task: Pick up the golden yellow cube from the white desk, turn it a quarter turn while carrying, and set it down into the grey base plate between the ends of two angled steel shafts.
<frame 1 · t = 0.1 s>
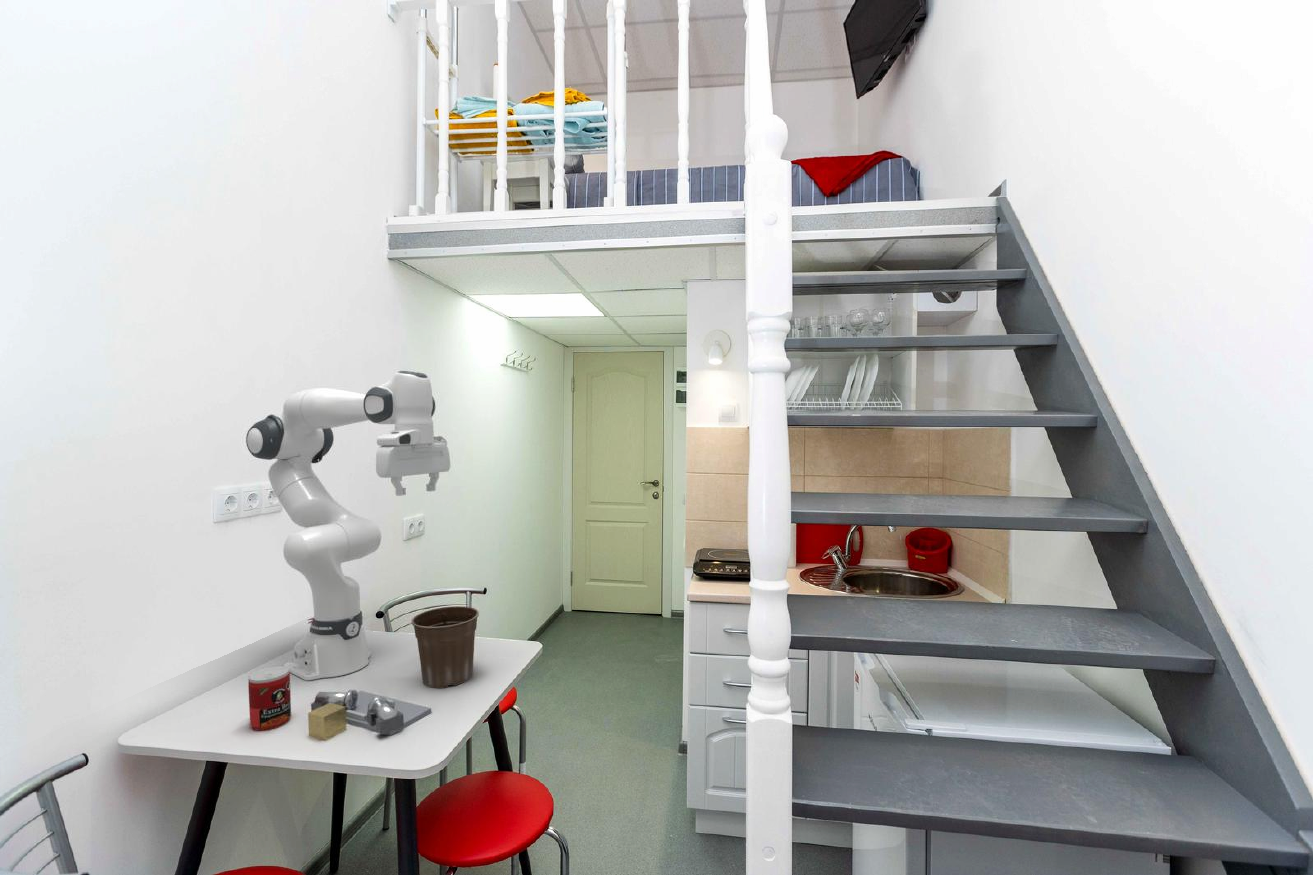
hand: (416, 493, 150), 48 cm above the table, fingers open, 8 cm apart
shaft a: (336, 714, 136), resting on grey base plate
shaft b: (384, 728, 130), resting on grey base plate
golden yellow cube: (327, 733, 128), on the table
canned food: (270, 723, 134), on the table
plant pot: (447, 679, 155), on the table
grey base plate: (370, 715, 136), on the table
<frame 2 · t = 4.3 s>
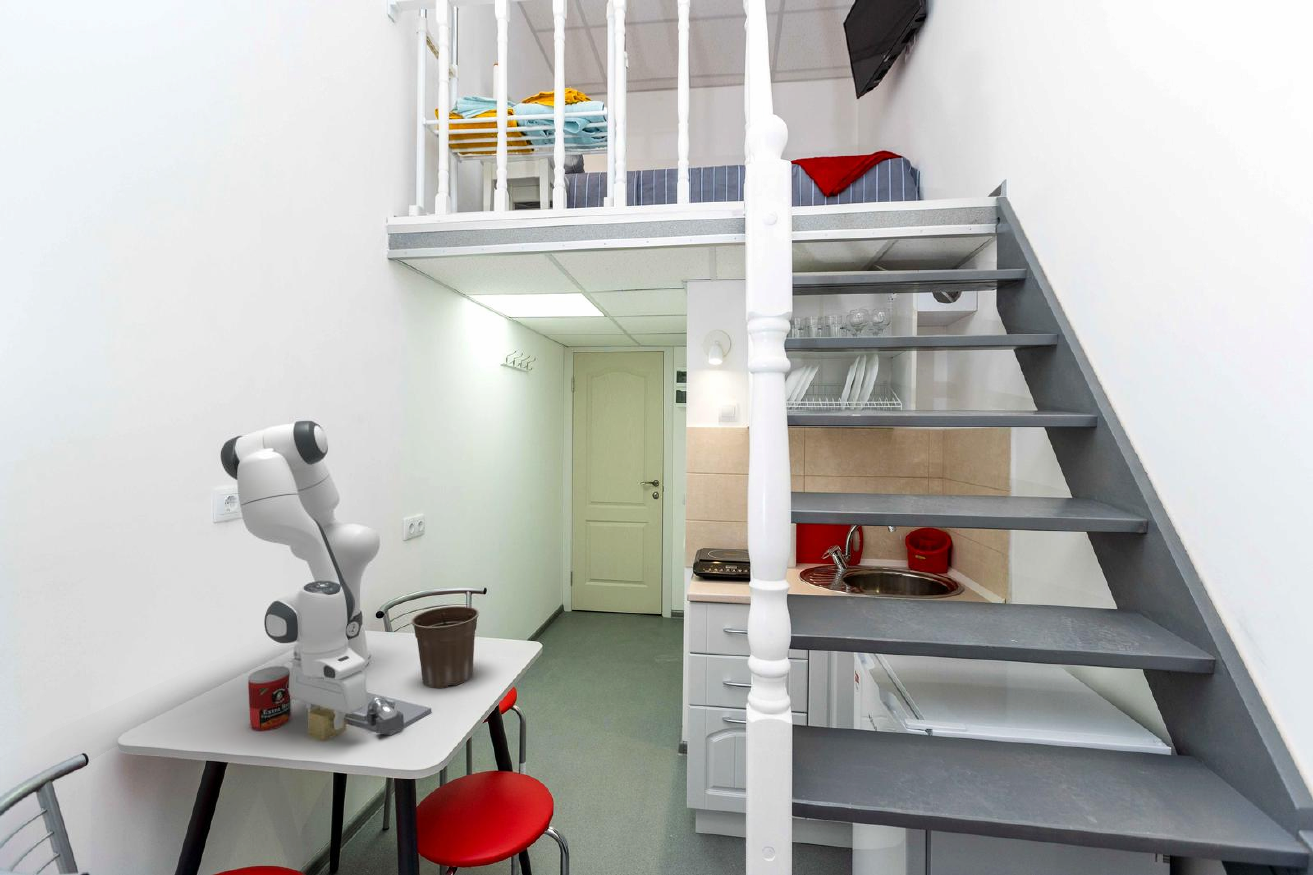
hand: (327, 725, 128), 2 cm above the table, fingers closed on golden yellow cube, 5 cm apart
golden yellow cube: (327, 732, 128), on the table, touching gripper
everything else where it was.
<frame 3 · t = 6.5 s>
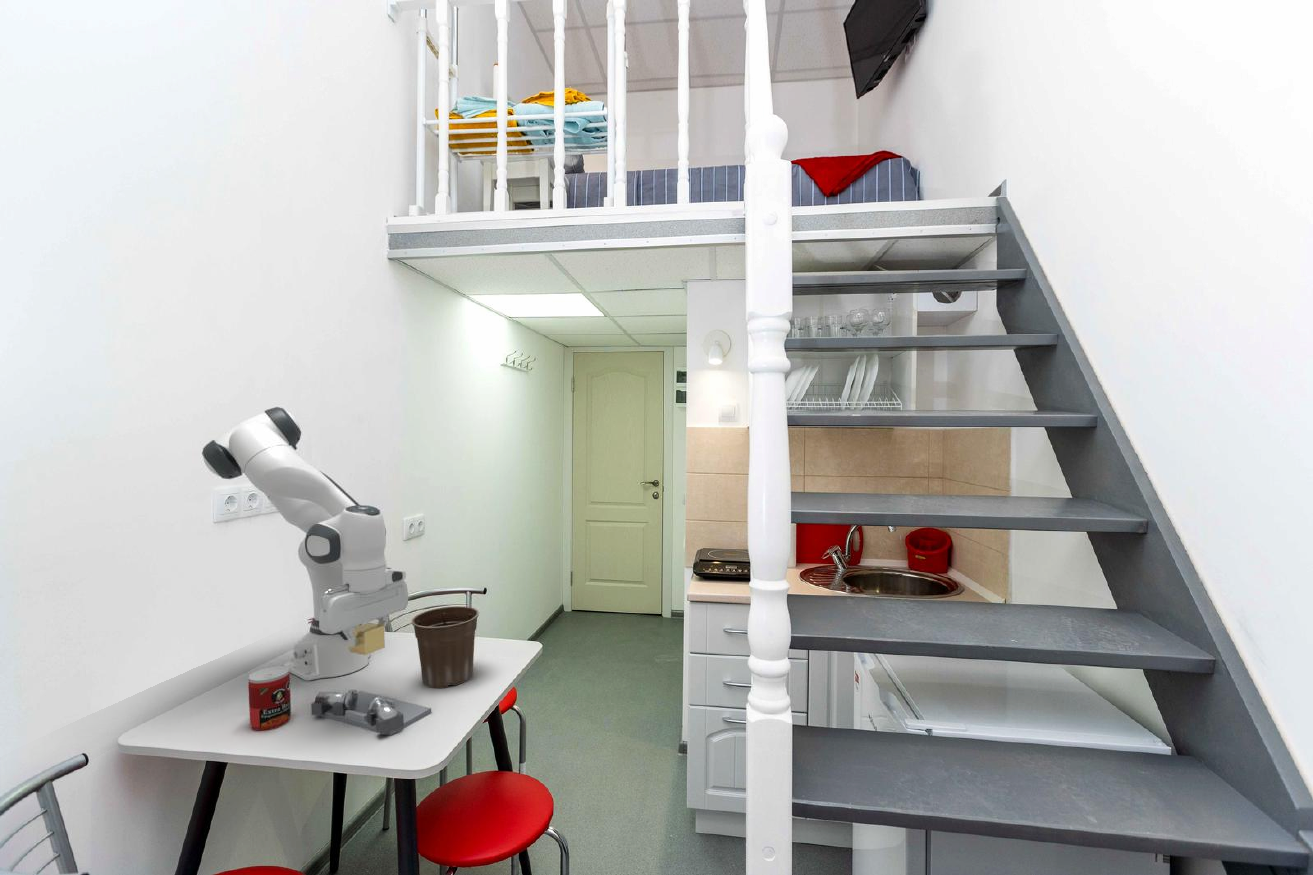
hand: (366, 641, 135), 17 cm above the table, fingers closed on golden yellow cube, 5 cm apart
golden yellow cube: (367, 649, 135), point 15 cm above the table, touching gripper
everything else where it was.
when the fingers open (4 cm above the table, at t = 8.7 s): golden yellow cube drops 1 cm, resting on grey base plate.
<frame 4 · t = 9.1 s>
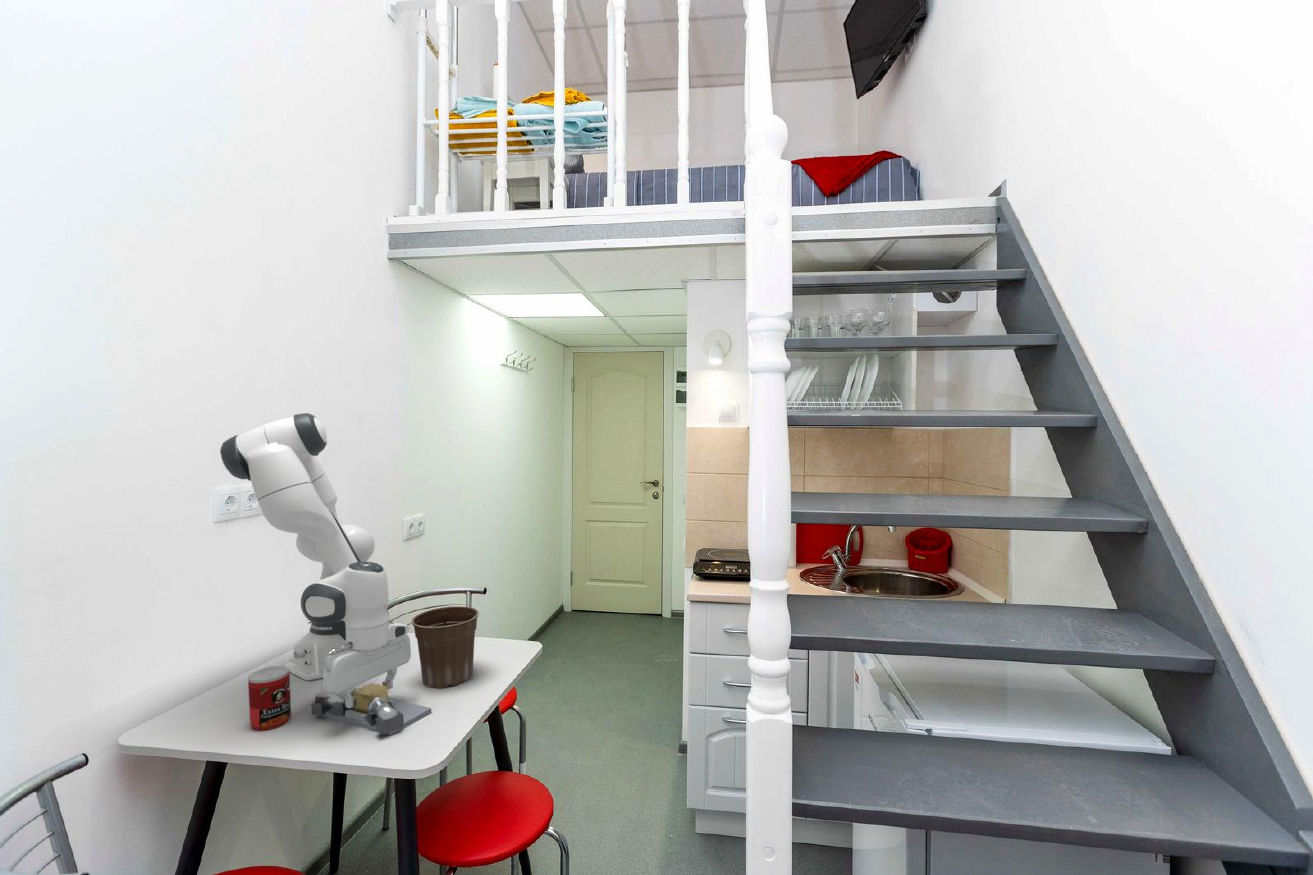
hand: (370, 697, 136), 4 cm above the table, fingers open, 8 cm apart
golden yellow cube: (370, 711, 136), point 1 cm above the table, touching grey base plate
everything else where it was.
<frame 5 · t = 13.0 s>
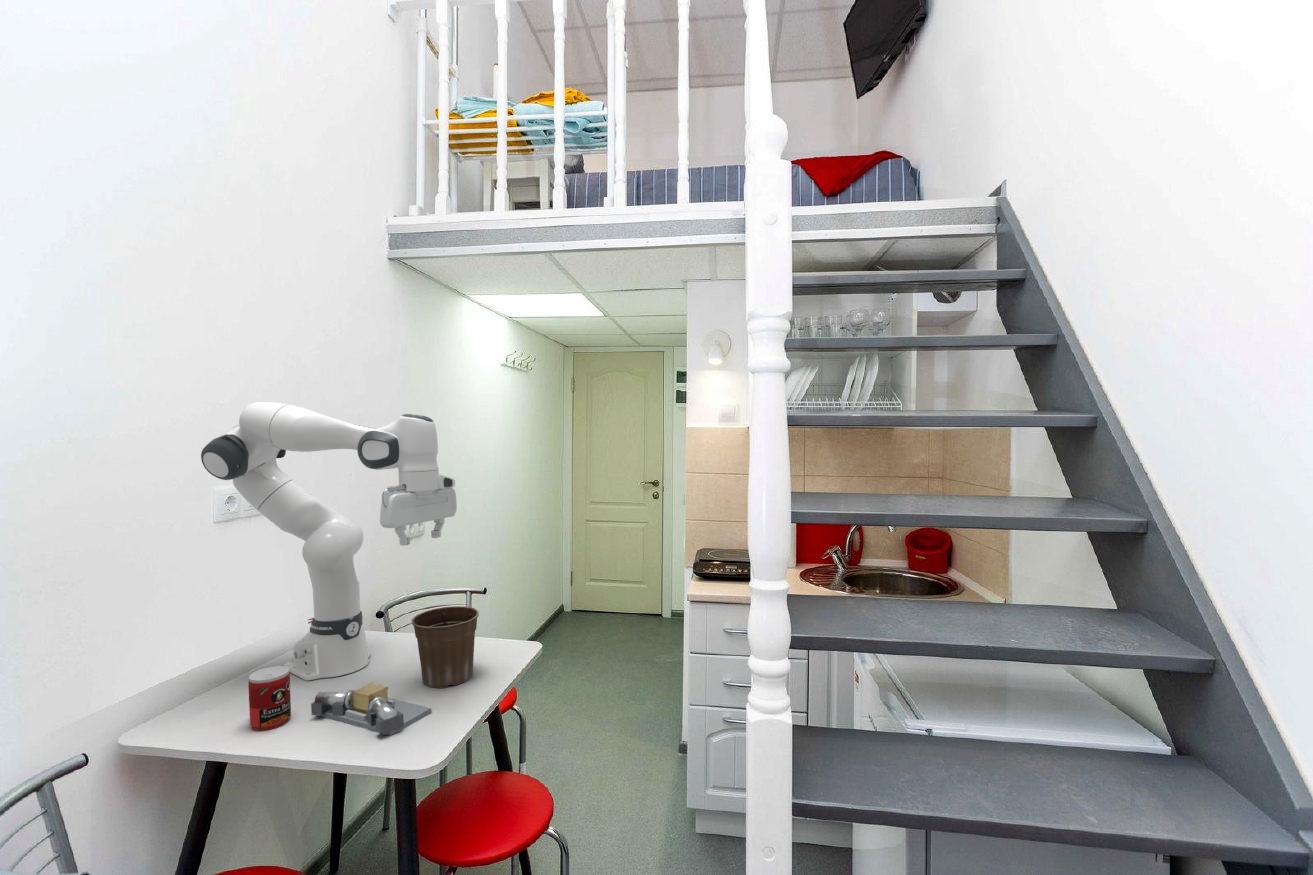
hand: (421, 541, 144), 37 cm above the table, fingers open, 8 cm apart
nothing on the table moved.
at the end: golden yellow cube 0.1 cm off-centre on the grey base plate, point 1.0 cm above the grey base plate's base; golden yellow cube tilted 0°; the gripper is holding nothing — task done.
